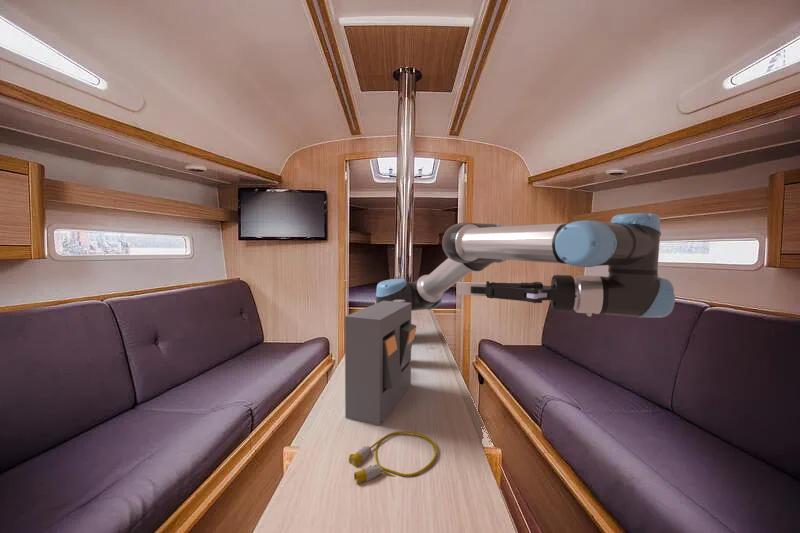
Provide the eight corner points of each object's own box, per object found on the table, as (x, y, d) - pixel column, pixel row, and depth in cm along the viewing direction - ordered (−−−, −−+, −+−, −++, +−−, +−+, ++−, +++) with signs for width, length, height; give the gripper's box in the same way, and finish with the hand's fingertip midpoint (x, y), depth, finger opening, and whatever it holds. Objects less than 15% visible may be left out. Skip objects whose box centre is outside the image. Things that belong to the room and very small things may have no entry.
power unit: (383, 379, 85) (383, 300, 83) (410, 384, 82) (411, 302, 80) (345, 417, 66) (345, 316, 64) (379, 425, 63) (379, 319, 62)
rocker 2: (401, 359, 80) (409, 323, 79) (409, 362, 79) (417, 325, 78) (392, 367, 74) (400, 329, 73) (401, 371, 74) (409, 331, 72)
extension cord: (350, 439, 59) (350, 429, 59) (430, 434, 61) (430, 424, 61) (346, 489, 47) (346, 476, 47) (446, 480, 49) (447, 468, 49)
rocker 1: (394, 377, 70) (386, 334, 70) (403, 377, 69) (395, 333, 69) (383, 388, 64) (374, 341, 65) (393, 388, 64) (384, 340, 64)
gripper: (579, 319, 56) (451, 309, 65) (567, 306, 69) (461, 299, 77) (580, 278, 56) (451, 274, 64) (569, 273, 68) (461, 269, 76)
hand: (457, 288), depth 71 cm, fingers closed
